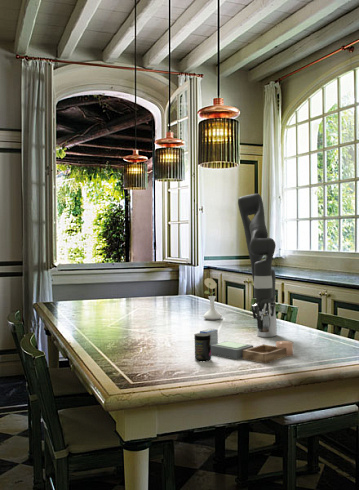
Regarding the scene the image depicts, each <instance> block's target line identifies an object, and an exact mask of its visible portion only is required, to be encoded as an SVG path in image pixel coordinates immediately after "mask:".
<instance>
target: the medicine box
mask: <svg viewBox="0 0 359 490" xmlns="http://www.w3.org/2000/svg"><path fill="white" fill-rule="evenodd" d="M199 333H209V334H211V345H214V344H218V343H219V339H218V329H215V328H207V329H202V330H199Z"/></svg>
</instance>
